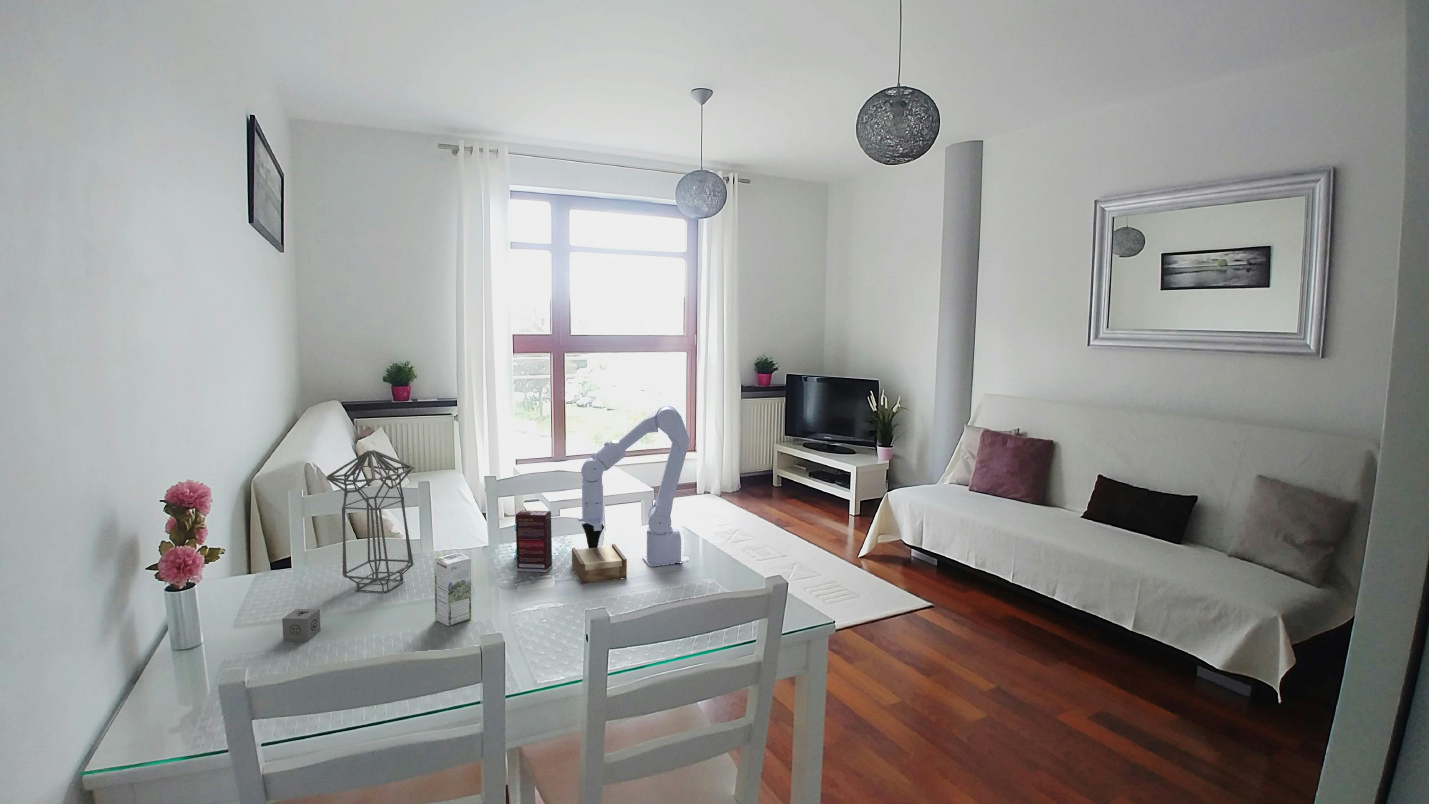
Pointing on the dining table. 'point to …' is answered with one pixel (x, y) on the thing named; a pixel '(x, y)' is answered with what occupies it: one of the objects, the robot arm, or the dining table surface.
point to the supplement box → (533, 541)
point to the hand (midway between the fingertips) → (592, 549)
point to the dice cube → (301, 625)
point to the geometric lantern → (356, 467)
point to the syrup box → (452, 589)
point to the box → (598, 573)
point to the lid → (599, 558)
